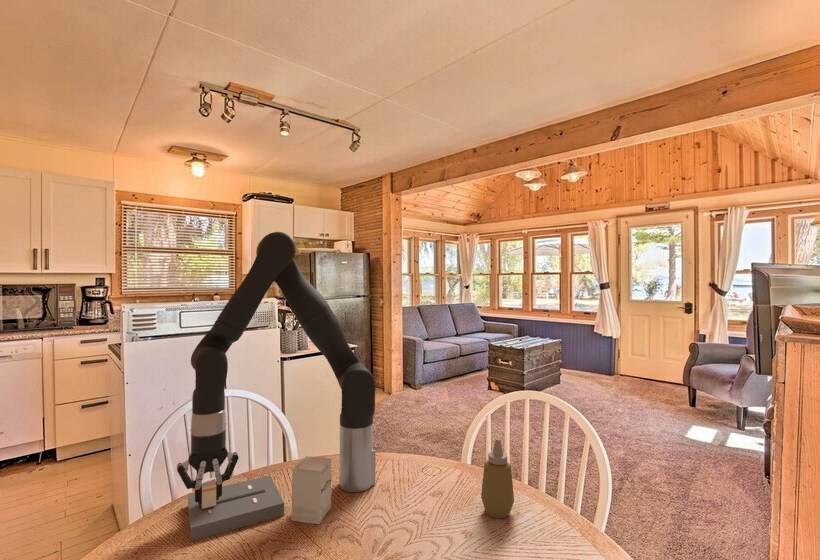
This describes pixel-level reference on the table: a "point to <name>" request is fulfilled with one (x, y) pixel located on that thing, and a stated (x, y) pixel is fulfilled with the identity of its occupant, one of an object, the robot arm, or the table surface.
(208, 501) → the fader
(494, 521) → the table surface
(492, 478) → the squeeze bottle
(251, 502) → the console
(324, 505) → the supplement box
